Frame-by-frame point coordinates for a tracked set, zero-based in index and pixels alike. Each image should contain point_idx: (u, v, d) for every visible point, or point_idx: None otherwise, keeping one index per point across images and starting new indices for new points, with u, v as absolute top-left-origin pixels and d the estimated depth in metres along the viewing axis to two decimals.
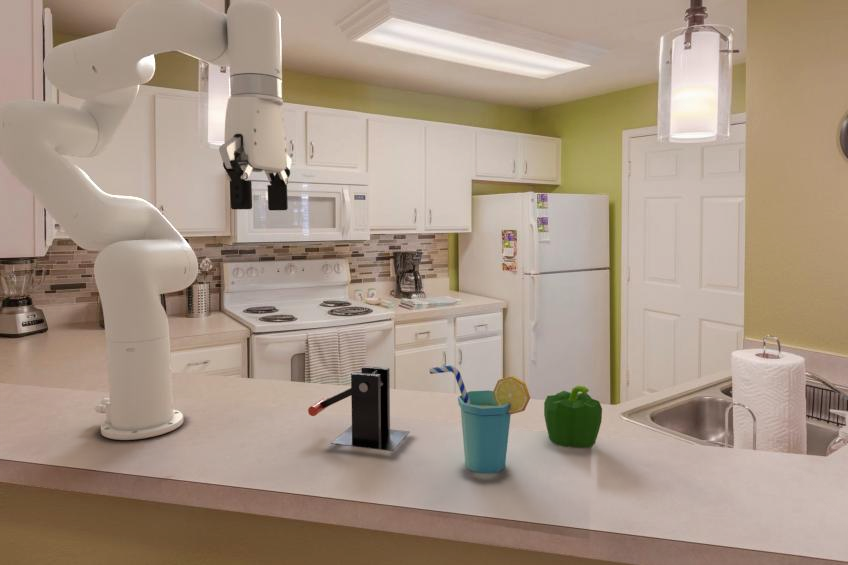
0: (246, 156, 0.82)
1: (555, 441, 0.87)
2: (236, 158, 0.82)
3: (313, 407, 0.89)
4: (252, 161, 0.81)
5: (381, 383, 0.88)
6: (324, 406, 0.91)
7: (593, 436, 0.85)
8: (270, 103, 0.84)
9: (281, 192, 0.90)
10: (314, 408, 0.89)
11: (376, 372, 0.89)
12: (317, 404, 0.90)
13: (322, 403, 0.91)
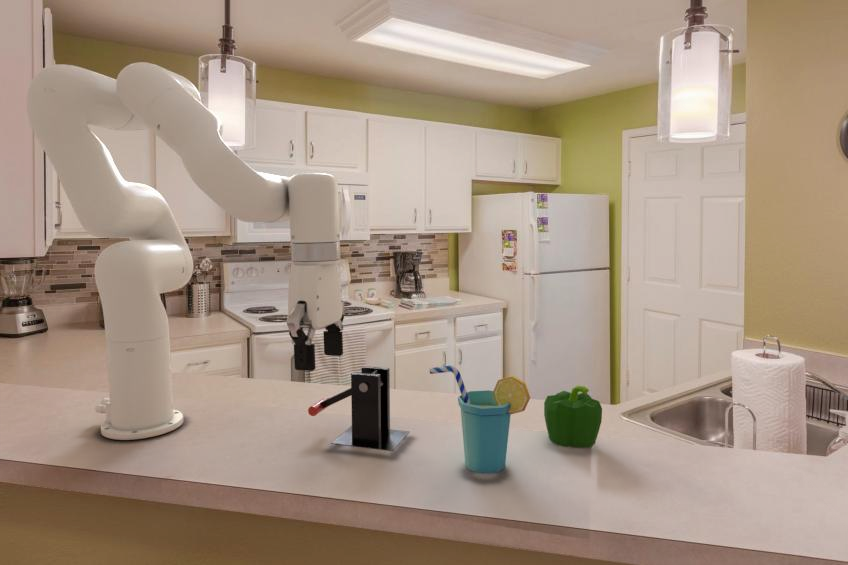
0: (308, 318, 0.87)
1: (555, 441, 0.87)
2: None
3: (313, 407, 0.89)
4: (315, 326, 0.85)
5: (381, 383, 0.88)
6: (324, 406, 0.91)
7: (593, 436, 0.85)
8: (330, 265, 0.88)
9: (337, 339, 0.94)
10: (314, 408, 0.89)
11: (376, 372, 0.89)
12: (317, 404, 0.90)
13: (322, 403, 0.91)
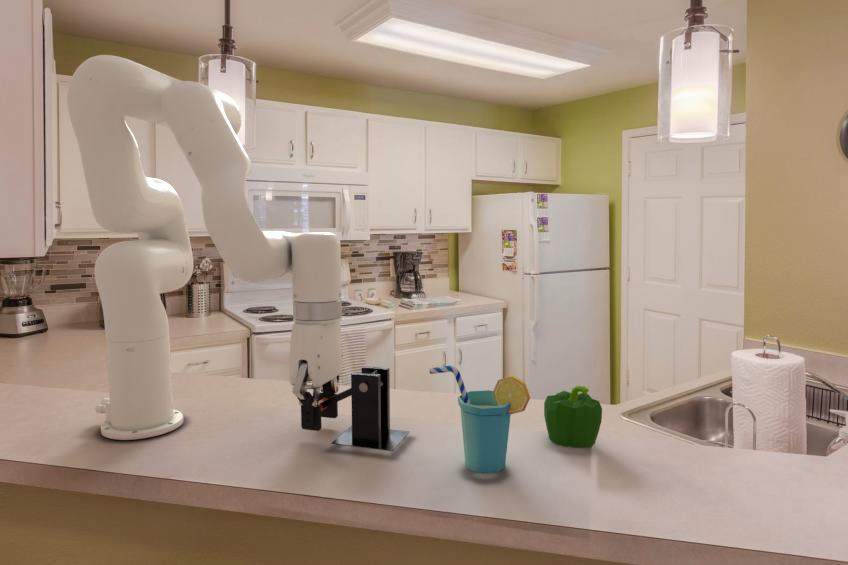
0: (309, 376, 0.88)
1: (555, 441, 0.87)
2: None
3: None
4: (316, 384, 0.86)
5: (381, 383, 0.88)
6: (324, 406, 0.91)
7: (593, 436, 0.85)
8: (331, 323, 0.89)
9: None
10: None
11: (376, 372, 0.89)
12: None
13: (322, 403, 0.91)
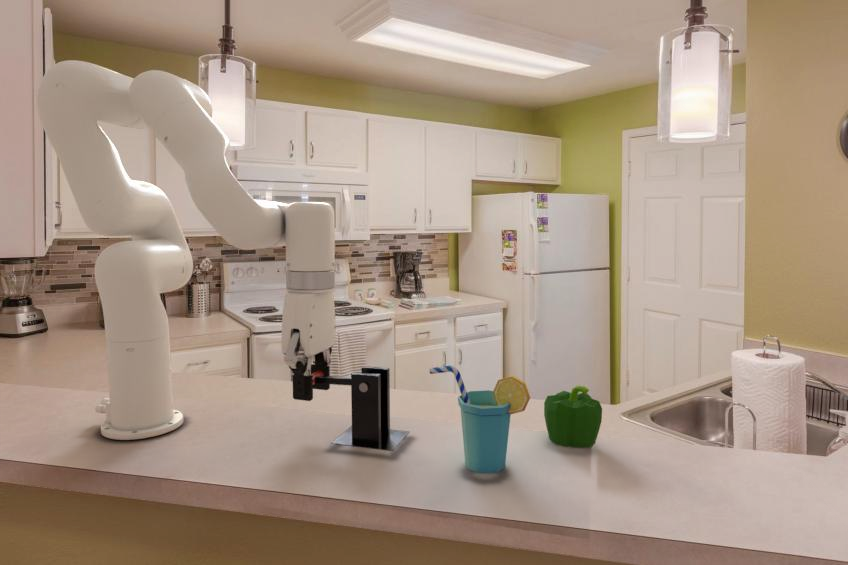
0: (301, 345, 0.88)
1: (555, 441, 0.87)
2: None
3: None
4: (308, 353, 0.86)
5: None
6: (317, 382, 0.91)
7: (593, 436, 0.85)
8: (324, 293, 0.89)
9: (324, 373, 0.94)
10: None
11: (380, 375, 0.88)
12: None
13: (316, 378, 0.91)
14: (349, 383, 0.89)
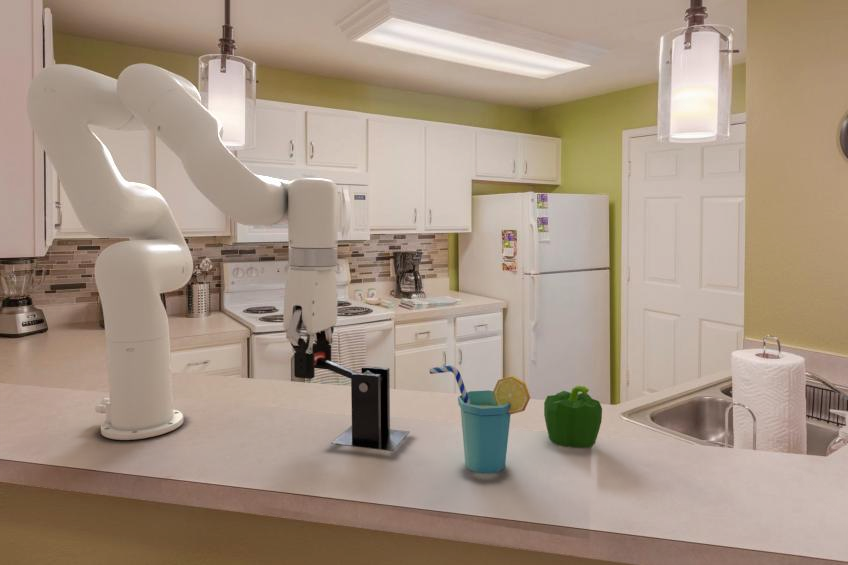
0: (303, 323, 0.87)
1: (555, 441, 0.87)
2: None
3: None
4: (310, 331, 0.86)
5: None
6: (318, 364, 0.90)
7: (593, 436, 0.85)
8: (326, 271, 0.88)
9: (326, 353, 0.93)
10: None
11: (381, 379, 0.88)
12: None
13: (319, 360, 0.90)
14: (349, 376, 0.89)
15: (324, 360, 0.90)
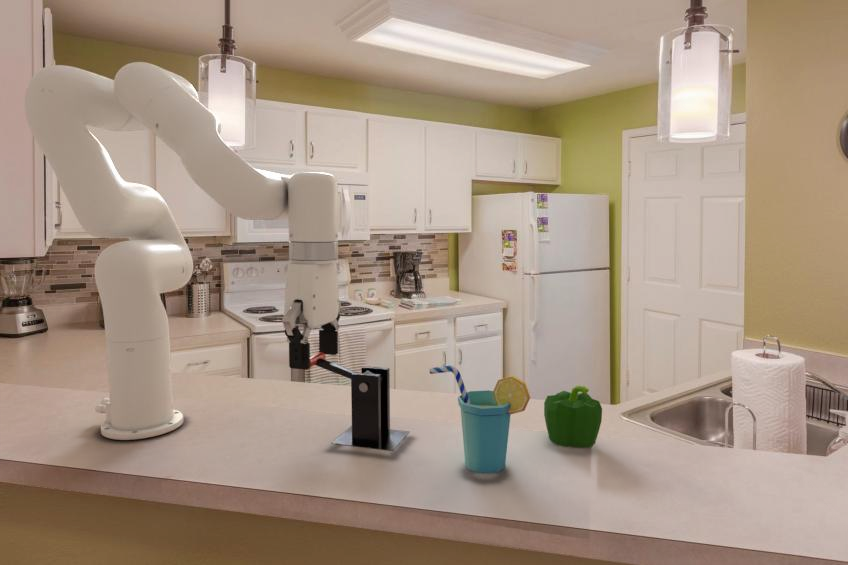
0: (304, 317, 0.87)
1: (555, 441, 0.87)
2: None
3: (310, 362, 0.88)
4: (311, 325, 0.85)
5: None
6: (318, 365, 0.90)
7: (593, 436, 0.85)
8: (327, 265, 0.88)
9: (332, 338, 0.95)
10: (310, 363, 0.88)
11: (381, 379, 0.88)
12: (314, 360, 0.90)
13: (318, 361, 0.90)
14: (349, 376, 0.89)
15: (324, 361, 0.90)
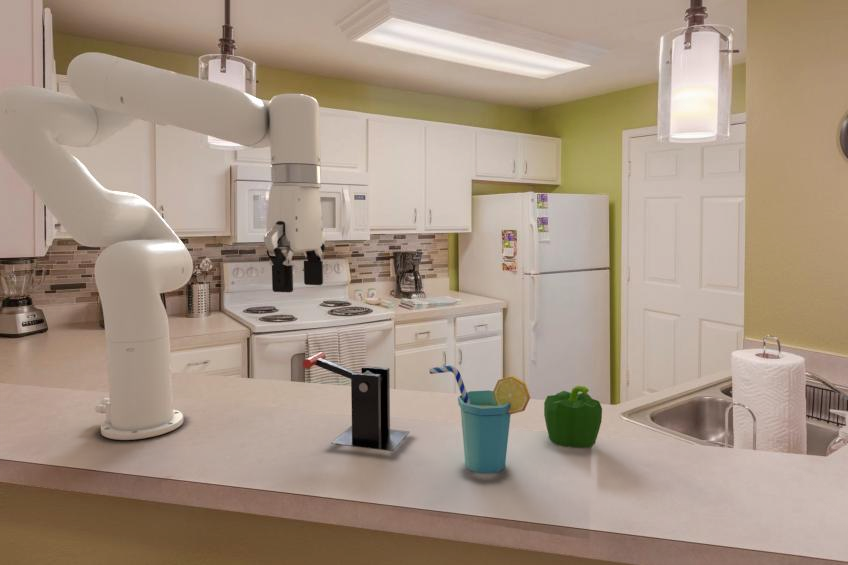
0: (287, 240, 0.86)
1: (555, 441, 0.87)
2: (277, 243, 0.86)
3: (310, 362, 0.88)
4: (293, 247, 0.85)
5: None
6: (318, 365, 0.90)
7: (593, 436, 0.85)
8: (309, 189, 0.88)
9: (317, 268, 0.94)
10: (310, 363, 0.88)
11: (381, 379, 0.88)
12: (314, 360, 0.90)
13: (318, 361, 0.90)
14: (349, 376, 0.89)
15: (324, 361, 0.90)
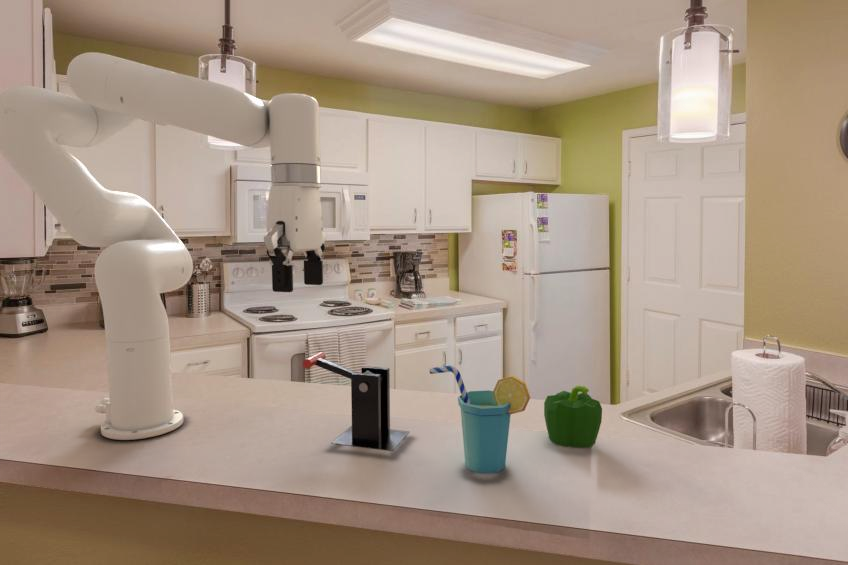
0: (287, 240, 0.86)
1: (555, 441, 0.87)
2: (277, 242, 0.86)
3: (310, 362, 0.88)
4: (293, 247, 0.85)
5: None
6: (318, 365, 0.90)
7: (593, 436, 0.85)
8: (309, 189, 0.88)
9: (317, 268, 0.94)
10: (310, 363, 0.88)
11: (381, 379, 0.88)
12: (314, 360, 0.90)
13: (318, 361, 0.90)
14: (349, 376, 0.89)
15: (324, 361, 0.90)
